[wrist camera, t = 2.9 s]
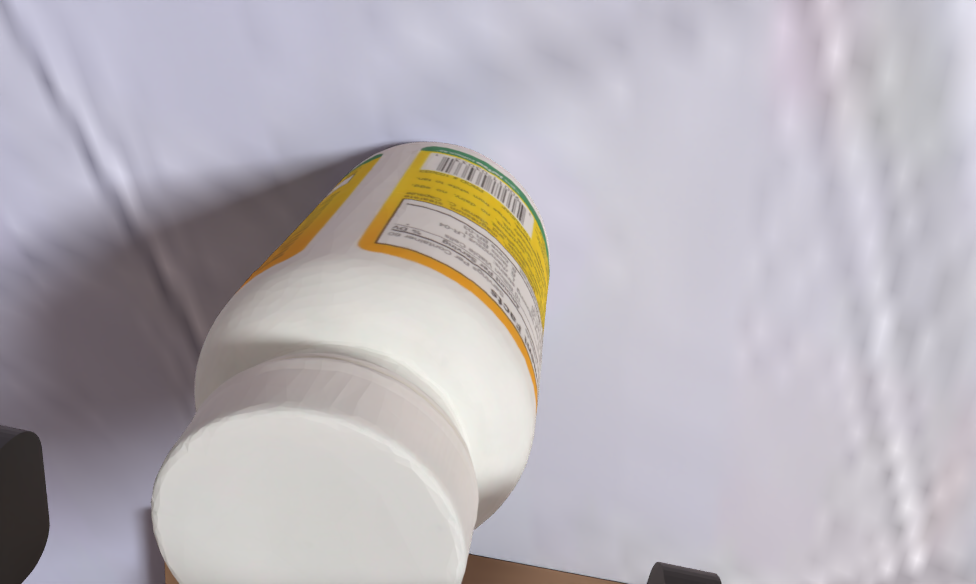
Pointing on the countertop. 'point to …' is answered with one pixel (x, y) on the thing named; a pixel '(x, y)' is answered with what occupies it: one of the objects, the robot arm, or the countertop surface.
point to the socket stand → (498, 574)
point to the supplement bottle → (366, 384)
